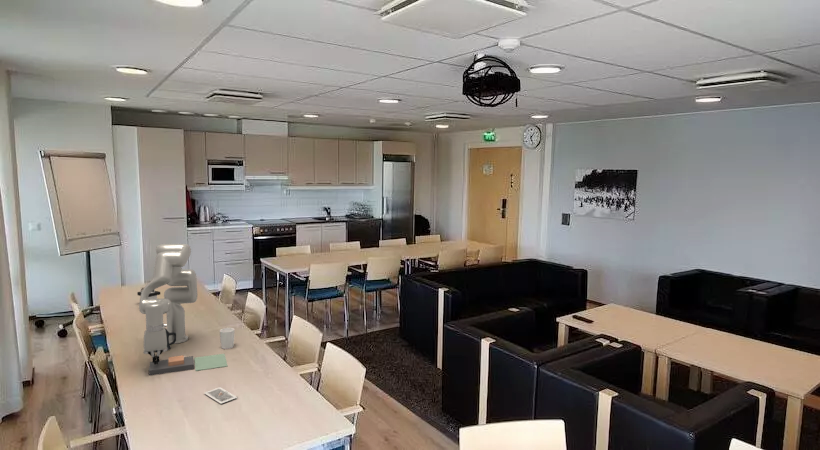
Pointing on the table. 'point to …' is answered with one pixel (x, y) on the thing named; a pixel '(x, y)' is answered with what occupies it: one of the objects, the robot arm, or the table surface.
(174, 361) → the terracotta tile
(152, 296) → the black-topped pedestal
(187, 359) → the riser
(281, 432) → the table surface
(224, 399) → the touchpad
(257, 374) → the table surface
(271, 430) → the table surface
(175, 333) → the mug
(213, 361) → the mat
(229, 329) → the white cup
